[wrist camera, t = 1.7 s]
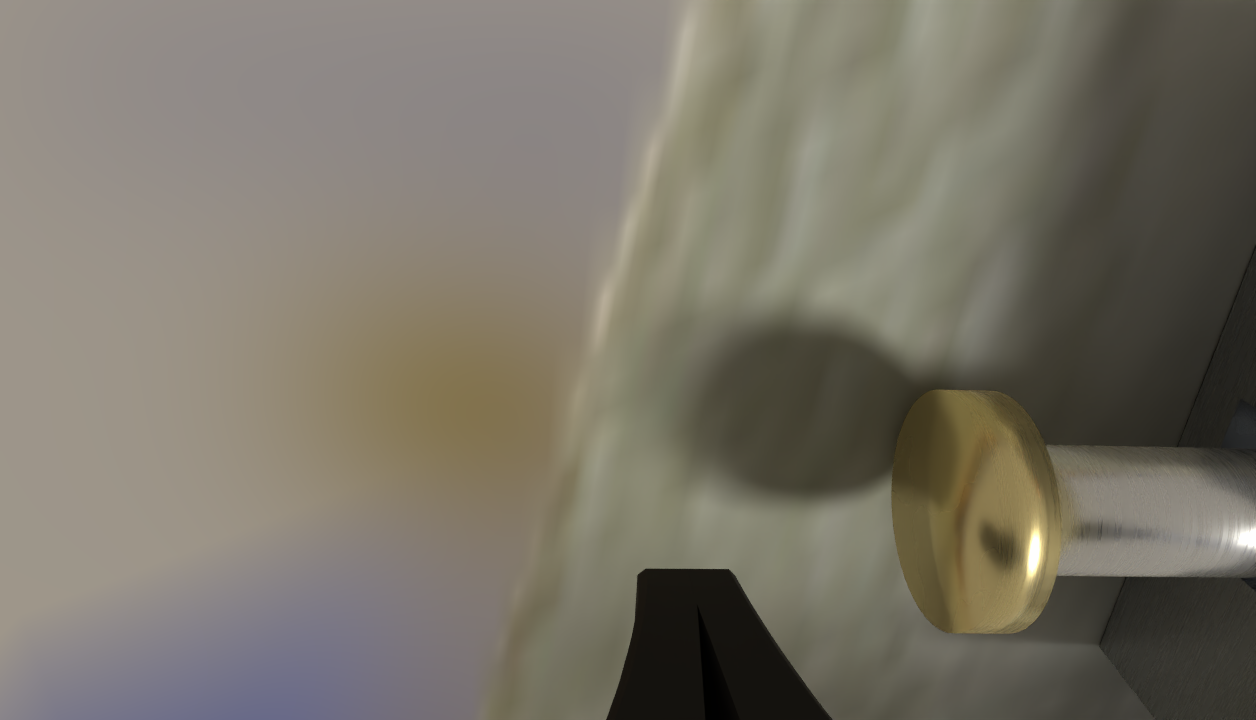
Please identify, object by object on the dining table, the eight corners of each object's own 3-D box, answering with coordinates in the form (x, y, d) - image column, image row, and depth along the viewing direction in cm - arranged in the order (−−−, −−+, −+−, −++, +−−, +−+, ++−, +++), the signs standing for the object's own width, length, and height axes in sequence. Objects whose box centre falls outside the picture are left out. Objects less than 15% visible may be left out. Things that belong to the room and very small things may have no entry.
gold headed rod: (1393, 362, 16) (1657, 483, 12) (1306, 536, 18) (1510, 690, 14) (916, 351, 15) (1027, 473, 12) (877, 531, 17) (961, 689, 13)
